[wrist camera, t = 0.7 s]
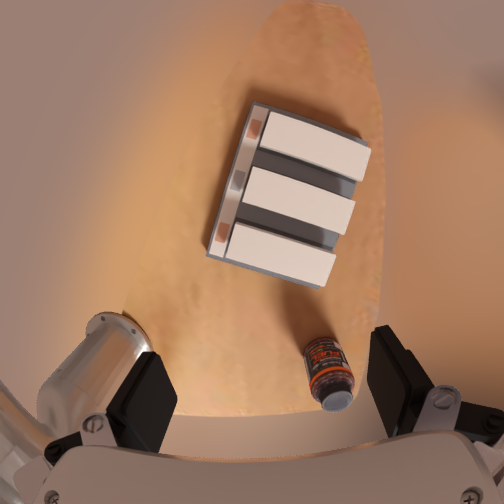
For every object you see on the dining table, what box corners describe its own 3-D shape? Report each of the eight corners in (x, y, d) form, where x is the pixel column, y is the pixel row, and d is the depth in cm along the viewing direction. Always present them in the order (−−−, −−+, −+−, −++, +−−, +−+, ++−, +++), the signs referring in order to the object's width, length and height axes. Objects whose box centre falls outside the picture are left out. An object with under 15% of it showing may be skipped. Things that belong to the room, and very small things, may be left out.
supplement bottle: (333, 329, 38) (355, 377, 27) (344, 357, 39) (366, 405, 28) (296, 346, 39) (307, 398, 28) (310, 372, 40) (322, 423, 29)
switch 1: (357, 181, 30) (362, 181, 28) (259, 146, 29) (260, 144, 28) (366, 150, 29) (371, 149, 27) (270, 114, 28) (270, 111, 27)
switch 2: (321, 282, 33) (324, 286, 31) (226, 253, 32) (225, 257, 31) (333, 252, 32) (336, 255, 30) (236, 221, 31) (235, 223, 30)
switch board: (316, 285, 36) (318, 290, 35) (207, 253, 35) (205, 256, 34) (364, 143, 31) (369, 142, 30) (253, 104, 31) (253, 100, 29)
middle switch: (340, 232, 31) (344, 235, 30) (242, 200, 31) (242, 201, 29) (351, 200, 30) (355, 201, 29) (253, 167, 30) (253, 166, 28)
